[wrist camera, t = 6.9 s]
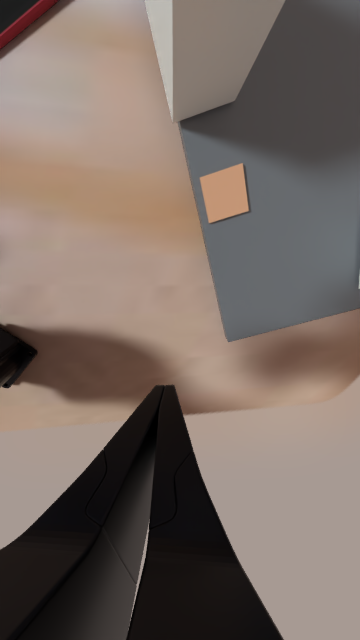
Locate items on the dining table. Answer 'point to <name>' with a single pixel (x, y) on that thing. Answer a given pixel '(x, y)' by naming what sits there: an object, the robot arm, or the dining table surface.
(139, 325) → the dining table surface
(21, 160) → the dining table surface
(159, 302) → the dining table surface
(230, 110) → the grey flat board
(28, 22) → the smartphone
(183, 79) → the grey rectangular block
